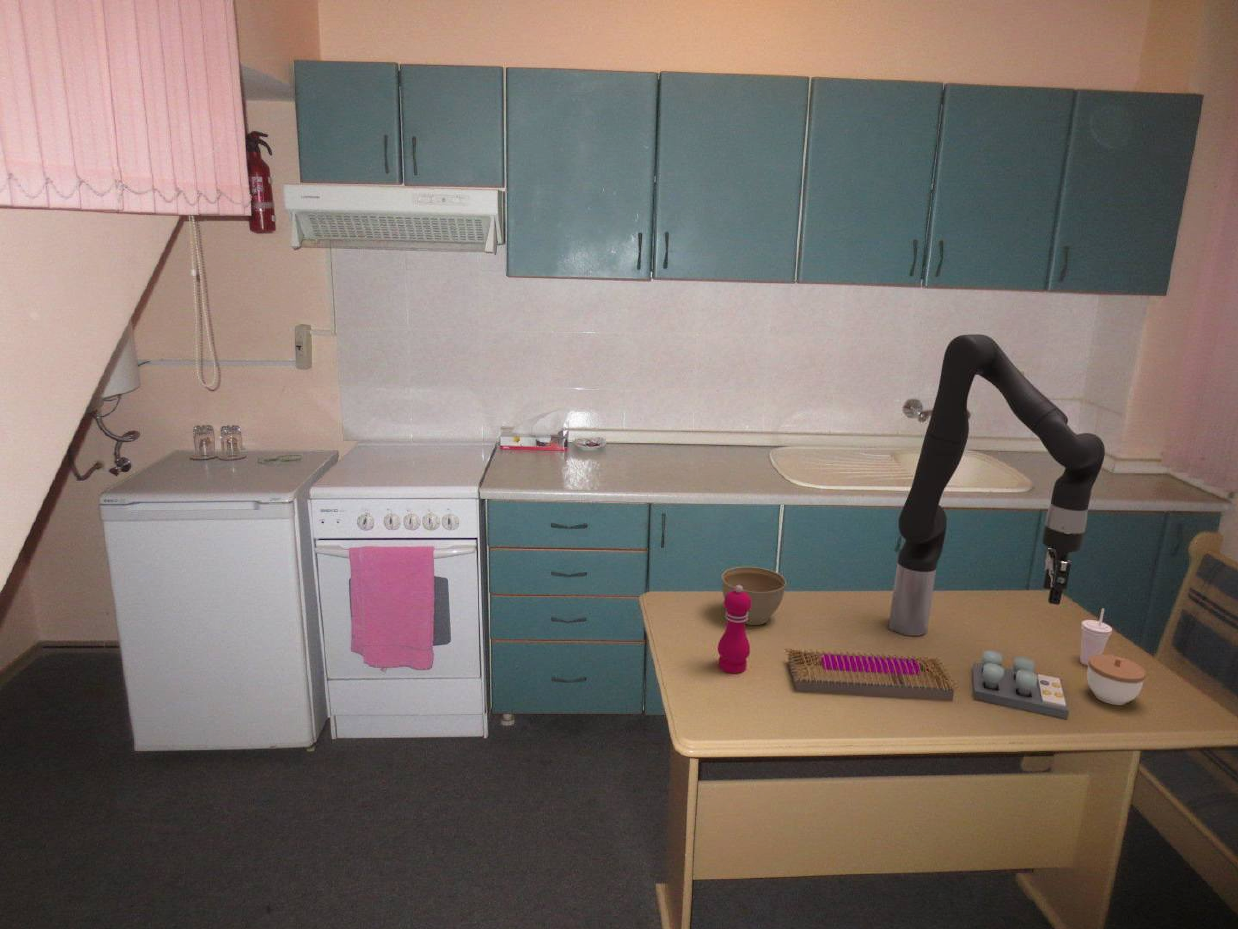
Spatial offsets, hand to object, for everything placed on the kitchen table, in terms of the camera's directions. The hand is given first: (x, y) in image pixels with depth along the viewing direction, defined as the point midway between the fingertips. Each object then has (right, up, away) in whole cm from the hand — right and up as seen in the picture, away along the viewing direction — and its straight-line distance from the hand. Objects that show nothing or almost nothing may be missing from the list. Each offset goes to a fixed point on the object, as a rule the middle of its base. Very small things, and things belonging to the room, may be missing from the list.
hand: (1050, 595), depth 180 cm
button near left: (-13, -20, -1) cm, 24 cm away
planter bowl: (-61, -11, +32) cm, 69 cm away
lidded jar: (+13, -23, +1) cm, 26 cm away
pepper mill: (-69, -17, +7) cm, 71 cm away
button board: (-7, -21, +1) cm, 23 cm away
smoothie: (+17, -19, +16) cm, 30 cm away
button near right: (-7, -21, -3) cm, 22 cm away
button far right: (-5, -19, +3) cm, 20 cm away
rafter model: (-39, -20, +4) cm, 44 cm away
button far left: (-11, -18, +5) cm, 22 cm away
